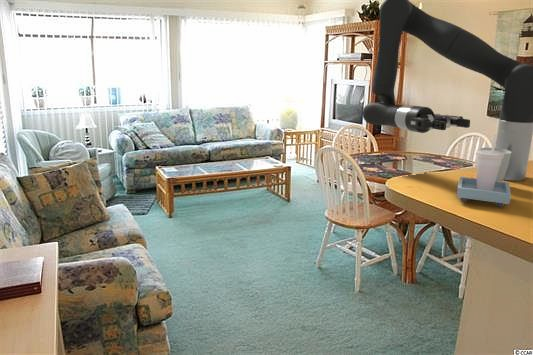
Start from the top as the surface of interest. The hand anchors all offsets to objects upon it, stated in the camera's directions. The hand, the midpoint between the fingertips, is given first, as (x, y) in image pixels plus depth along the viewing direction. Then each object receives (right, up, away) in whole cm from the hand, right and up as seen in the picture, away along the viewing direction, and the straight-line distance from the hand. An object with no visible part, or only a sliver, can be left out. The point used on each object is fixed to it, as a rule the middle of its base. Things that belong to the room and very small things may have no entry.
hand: (457, 125), depth 118 cm
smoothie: (+5, -17, -5) cm, 19 cm away
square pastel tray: (+4, -20, -5) cm, 21 cm away
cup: (+13, -16, +9) cm, 23 cm away
